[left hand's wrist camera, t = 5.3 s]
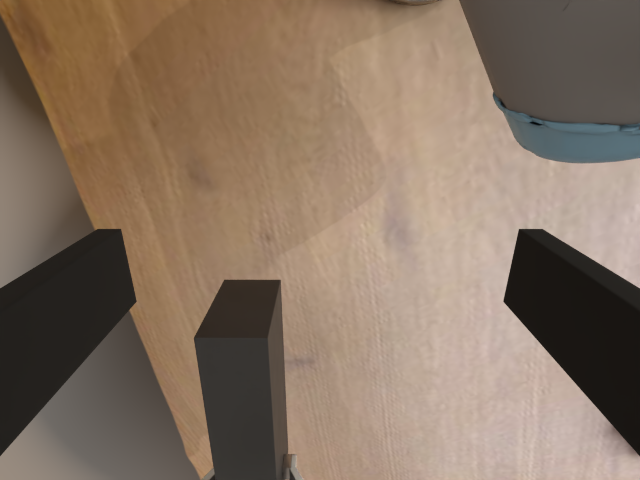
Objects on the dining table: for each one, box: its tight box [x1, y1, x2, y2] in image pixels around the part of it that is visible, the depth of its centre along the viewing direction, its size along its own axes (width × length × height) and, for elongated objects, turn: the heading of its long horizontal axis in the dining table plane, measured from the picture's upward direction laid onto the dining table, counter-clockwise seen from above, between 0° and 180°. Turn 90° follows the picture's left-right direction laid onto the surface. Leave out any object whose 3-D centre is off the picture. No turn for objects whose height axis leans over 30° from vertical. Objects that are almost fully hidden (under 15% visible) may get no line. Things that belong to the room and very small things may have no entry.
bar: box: [194, 280, 288, 480], centre depth 36 cm, size 23×6×9 cm, turn 0°
